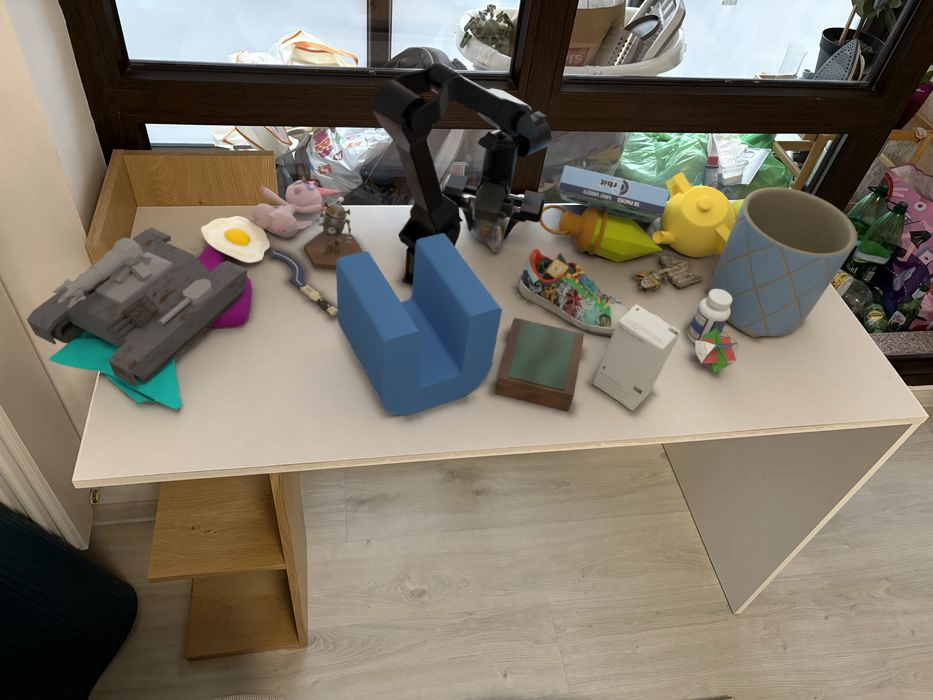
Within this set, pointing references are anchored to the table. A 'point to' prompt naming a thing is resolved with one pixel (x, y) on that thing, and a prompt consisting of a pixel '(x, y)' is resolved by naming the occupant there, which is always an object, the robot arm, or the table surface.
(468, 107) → the robot arm
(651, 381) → the cosmetic box
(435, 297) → the block
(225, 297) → the toy
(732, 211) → the teapot
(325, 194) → the toy
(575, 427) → the table surface
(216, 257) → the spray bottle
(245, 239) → the fried egg
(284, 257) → the decorative blade
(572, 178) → the gum box
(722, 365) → the geometric puzzle
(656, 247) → the plumb bob
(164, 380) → the cloth
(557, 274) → the sneaker
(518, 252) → the table surface
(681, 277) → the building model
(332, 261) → the robot figurine
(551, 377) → the framed green board
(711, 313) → the pill bottle
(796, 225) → the planter
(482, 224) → the mug
